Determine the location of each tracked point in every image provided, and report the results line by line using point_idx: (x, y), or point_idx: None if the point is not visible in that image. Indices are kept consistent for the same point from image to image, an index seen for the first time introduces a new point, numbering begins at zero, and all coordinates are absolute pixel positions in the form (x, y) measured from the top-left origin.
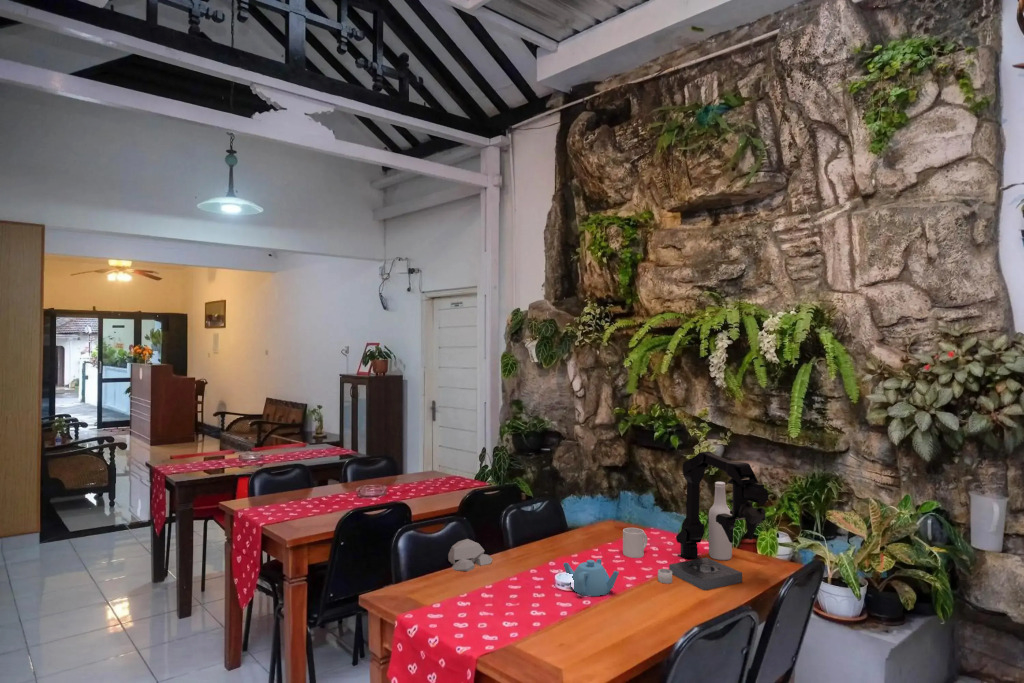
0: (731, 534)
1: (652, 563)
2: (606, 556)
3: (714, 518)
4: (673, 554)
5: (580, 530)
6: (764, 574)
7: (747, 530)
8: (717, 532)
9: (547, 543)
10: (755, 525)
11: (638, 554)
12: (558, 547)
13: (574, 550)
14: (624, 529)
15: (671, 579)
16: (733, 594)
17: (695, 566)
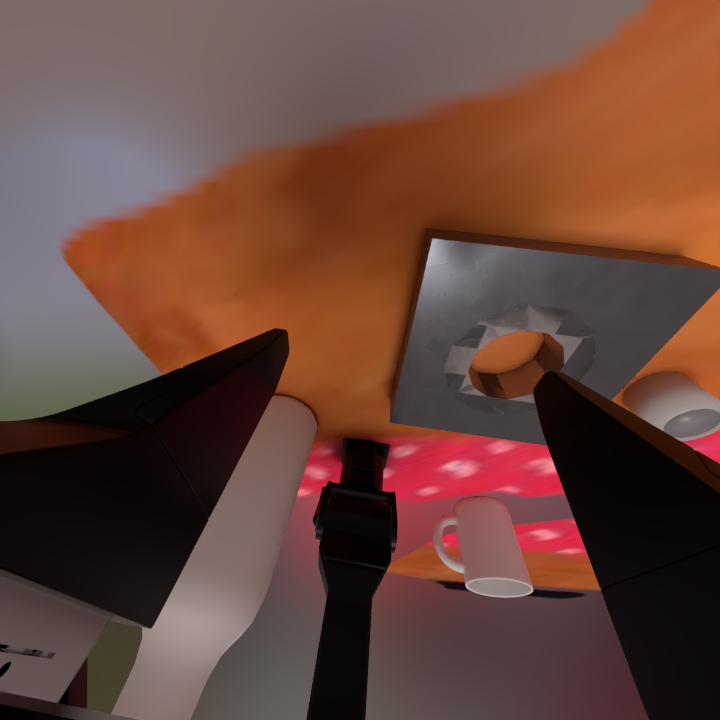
0: (688, 449)
1: (494, 473)
2: (528, 527)
3: (265, 573)
4: (386, 475)
5: (424, 575)
6: (254, 241)
7: (252, 429)
8: (282, 496)
9: (535, 580)
10: (89, 431)
11: (495, 509)
12: (543, 570)
13: (539, 557)
14: (502, 595)
15: (678, 383)
16: (656, 114)
17: (520, 397)
